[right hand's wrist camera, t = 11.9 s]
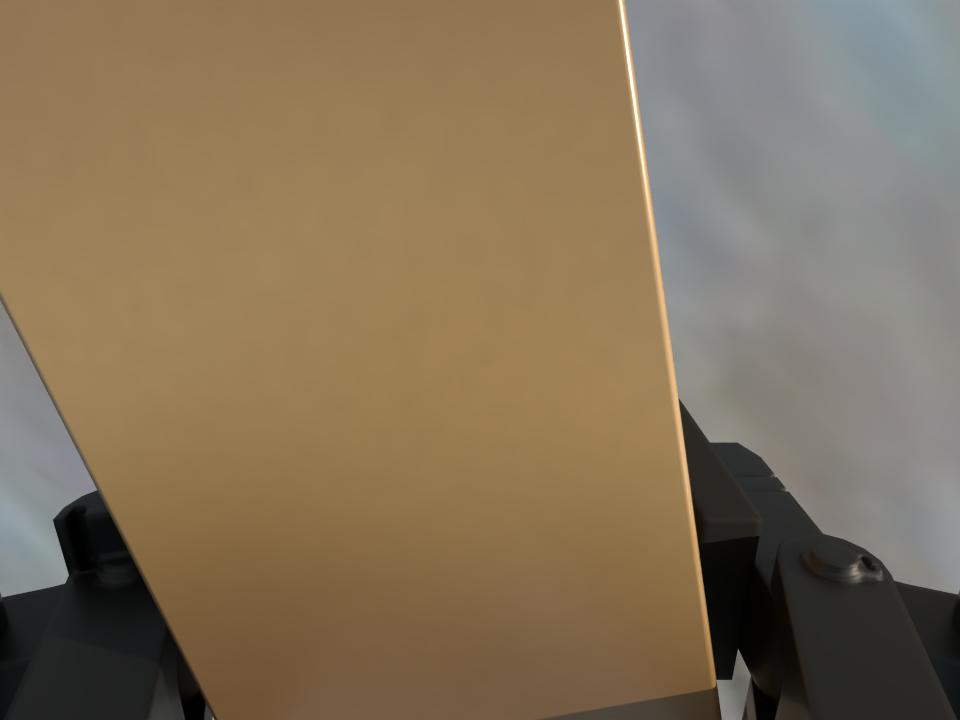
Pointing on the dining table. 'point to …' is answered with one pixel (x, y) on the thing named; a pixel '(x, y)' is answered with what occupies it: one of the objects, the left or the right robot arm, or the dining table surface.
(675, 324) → the dining table surface
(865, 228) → the dining table surface
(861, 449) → the dining table surface
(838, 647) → the right robot arm
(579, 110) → the bar
